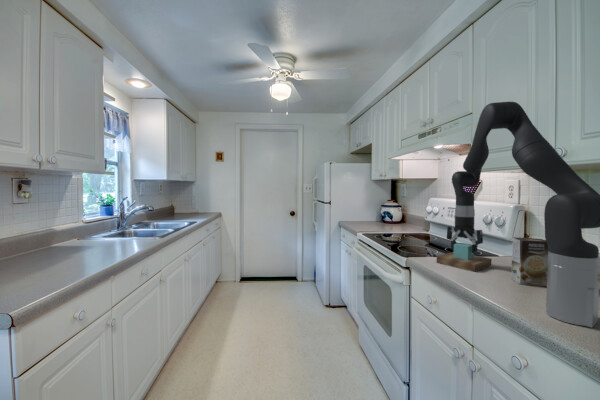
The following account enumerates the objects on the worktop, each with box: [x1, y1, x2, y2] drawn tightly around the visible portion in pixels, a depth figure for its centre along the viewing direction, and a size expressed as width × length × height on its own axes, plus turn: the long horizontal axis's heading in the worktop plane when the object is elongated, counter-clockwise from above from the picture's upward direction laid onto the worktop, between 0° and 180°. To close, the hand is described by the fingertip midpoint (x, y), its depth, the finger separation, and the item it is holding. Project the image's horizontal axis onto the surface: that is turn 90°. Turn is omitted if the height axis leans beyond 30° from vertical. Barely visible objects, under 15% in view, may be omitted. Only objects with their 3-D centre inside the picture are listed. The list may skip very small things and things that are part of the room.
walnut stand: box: [436, 251, 492, 272], centre depth 119 cm, size 16×16×3 cm
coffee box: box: [510, 236, 548, 288], centre depth 95 cm, size 9×6×16 cm
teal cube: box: [453, 242, 475, 260], centre depth 119 cm, size 6×6×6 cm
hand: (463, 250), depth 119 cm, fingers open, 8 cm apart
